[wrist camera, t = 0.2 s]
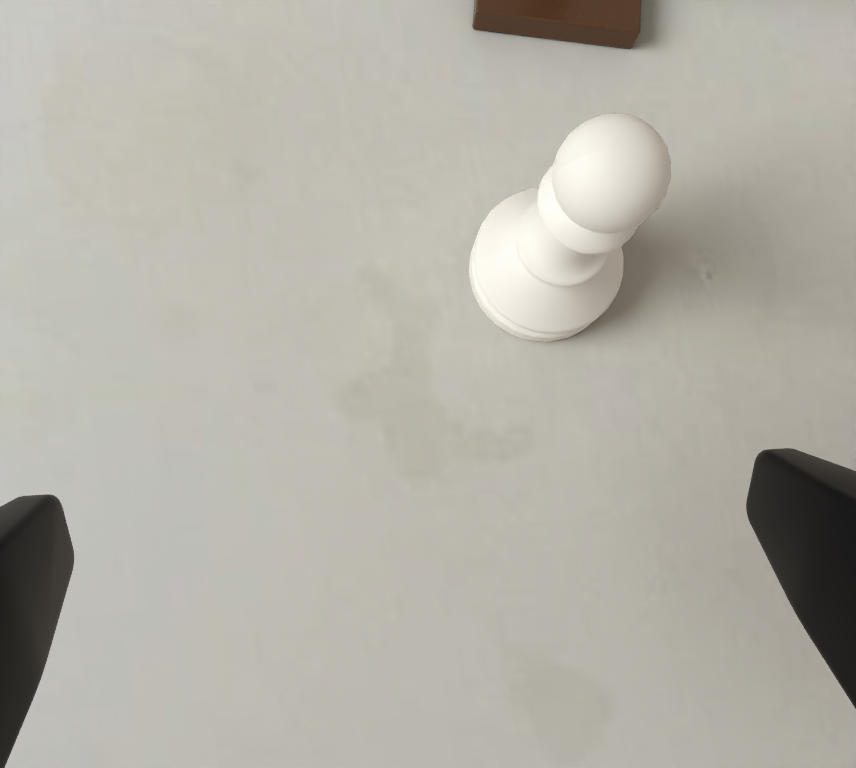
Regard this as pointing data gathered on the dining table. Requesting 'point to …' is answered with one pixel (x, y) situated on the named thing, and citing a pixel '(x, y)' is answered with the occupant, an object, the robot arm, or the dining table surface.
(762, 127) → the dining table surface
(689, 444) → the dining table surface
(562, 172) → the chess pawn
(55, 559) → the robot arm
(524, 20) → the post stand
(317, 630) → the dining table surface
